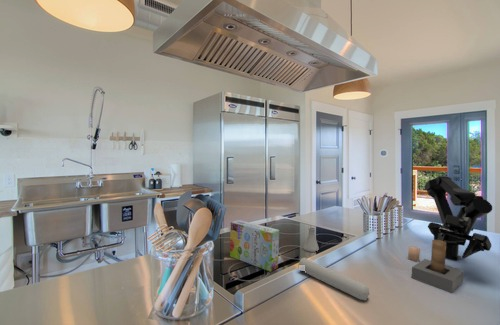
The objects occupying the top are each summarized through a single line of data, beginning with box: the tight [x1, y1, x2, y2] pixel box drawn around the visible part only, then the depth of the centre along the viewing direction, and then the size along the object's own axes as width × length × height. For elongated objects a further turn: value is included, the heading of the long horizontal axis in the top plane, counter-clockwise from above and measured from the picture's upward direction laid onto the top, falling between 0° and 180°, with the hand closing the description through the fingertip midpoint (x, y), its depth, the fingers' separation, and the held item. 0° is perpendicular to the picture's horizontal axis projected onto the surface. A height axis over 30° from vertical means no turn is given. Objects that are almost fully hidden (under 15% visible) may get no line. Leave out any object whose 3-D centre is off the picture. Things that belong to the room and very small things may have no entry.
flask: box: [302, 226, 320, 253], centre depth 117 cm, size 7×7×10 cm
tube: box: [298, 257, 370, 301], centre depth 87 cm, size 5×5×25 cm
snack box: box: [229, 219, 280, 273], centre depth 103 cm, size 21×6×15 cm, turn 52°
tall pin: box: [430, 239, 446, 274], centre depth 92 cm, size 4×4×14 cm
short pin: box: [407, 245, 421, 263], centre depth 109 cm, size 4×4×5 cm
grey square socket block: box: [411, 258, 465, 293], centre depth 92 cm, size 12×12×4 cm
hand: (448, 253), depth 95 cm, fingers open, 9 cm apart
